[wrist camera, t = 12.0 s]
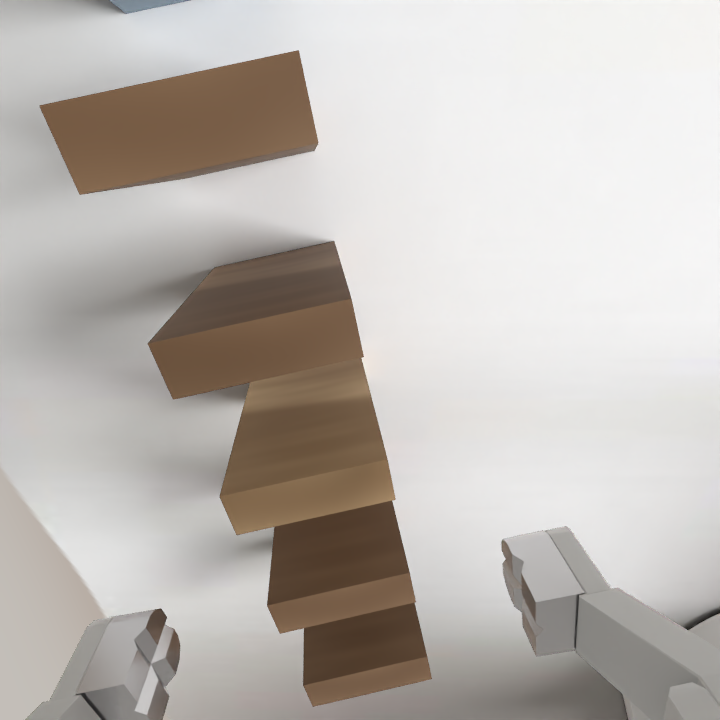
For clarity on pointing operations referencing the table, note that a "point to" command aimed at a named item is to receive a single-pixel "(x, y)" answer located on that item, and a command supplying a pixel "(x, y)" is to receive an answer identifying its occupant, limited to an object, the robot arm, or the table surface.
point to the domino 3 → (306, 449)
